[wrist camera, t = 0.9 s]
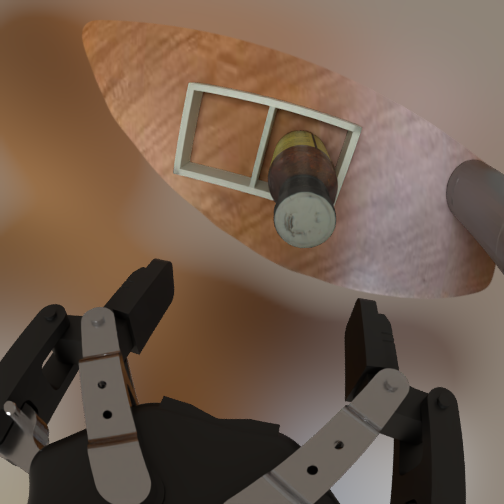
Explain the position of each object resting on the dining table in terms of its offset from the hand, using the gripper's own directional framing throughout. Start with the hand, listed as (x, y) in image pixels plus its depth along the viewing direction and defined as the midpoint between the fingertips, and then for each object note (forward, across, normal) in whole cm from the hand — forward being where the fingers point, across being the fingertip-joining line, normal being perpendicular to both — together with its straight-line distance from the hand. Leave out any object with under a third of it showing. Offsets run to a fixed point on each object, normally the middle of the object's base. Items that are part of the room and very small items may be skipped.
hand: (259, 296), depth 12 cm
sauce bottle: (+28, 0, 0) cm, 28 cm away
